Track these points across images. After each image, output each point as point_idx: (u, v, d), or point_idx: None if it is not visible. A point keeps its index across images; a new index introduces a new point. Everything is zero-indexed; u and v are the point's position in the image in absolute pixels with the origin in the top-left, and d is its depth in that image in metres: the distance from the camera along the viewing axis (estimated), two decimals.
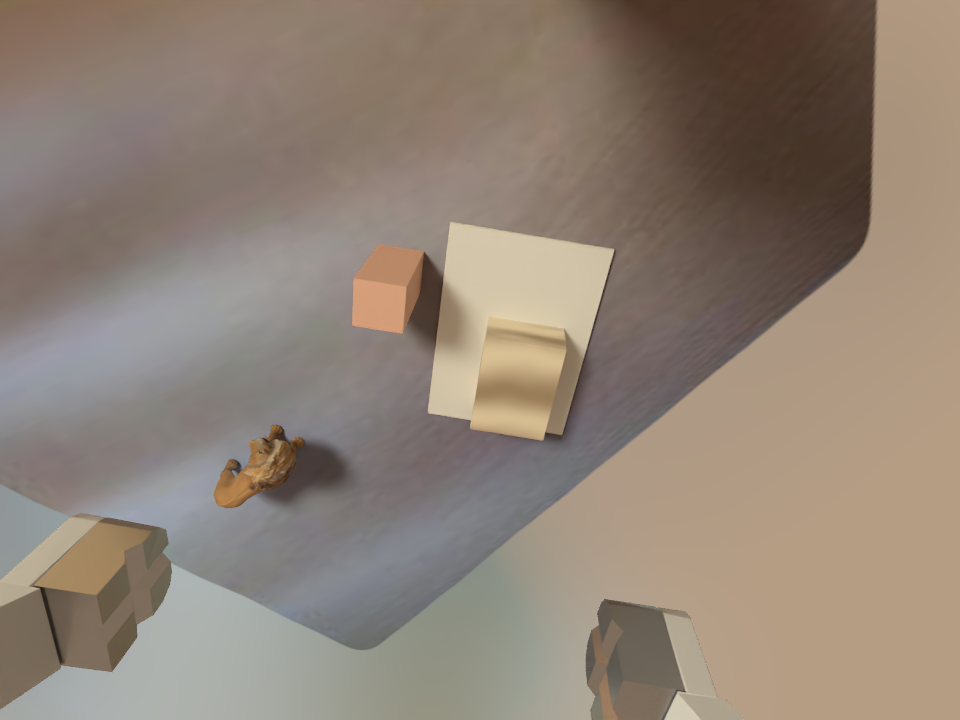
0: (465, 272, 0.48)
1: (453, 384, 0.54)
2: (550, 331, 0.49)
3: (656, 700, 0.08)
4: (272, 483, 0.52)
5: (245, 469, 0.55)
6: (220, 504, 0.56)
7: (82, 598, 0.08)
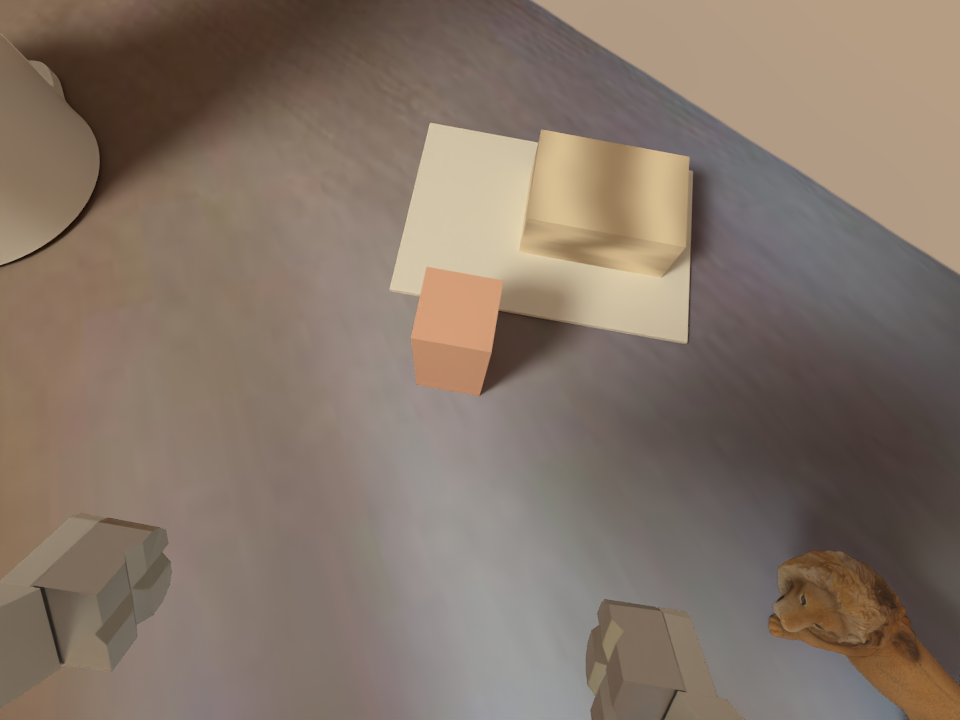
0: None
1: (630, 302, 0.37)
2: (531, 174, 0.38)
3: (656, 700, 0.08)
4: (875, 577, 0.24)
5: (873, 673, 0.26)
6: None
7: (82, 599, 0.08)
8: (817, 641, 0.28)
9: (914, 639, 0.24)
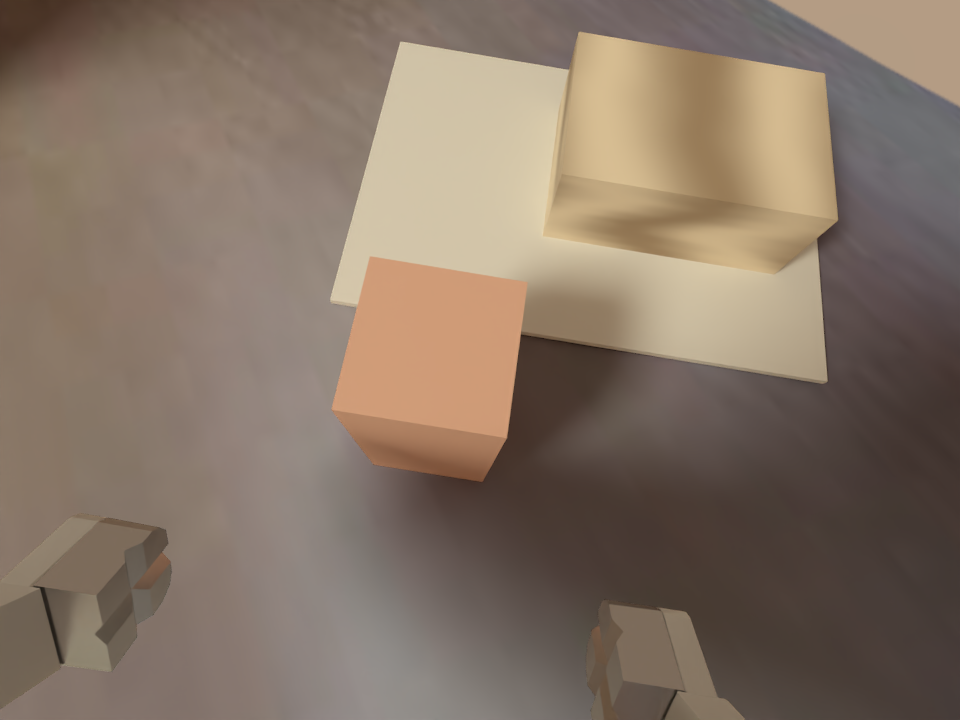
0: None
1: (728, 315, 0.22)
2: (560, 114, 0.24)
3: (656, 700, 0.08)
4: None
5: None
6: None
7: (82, 599, 0.08)
8: None
9: None
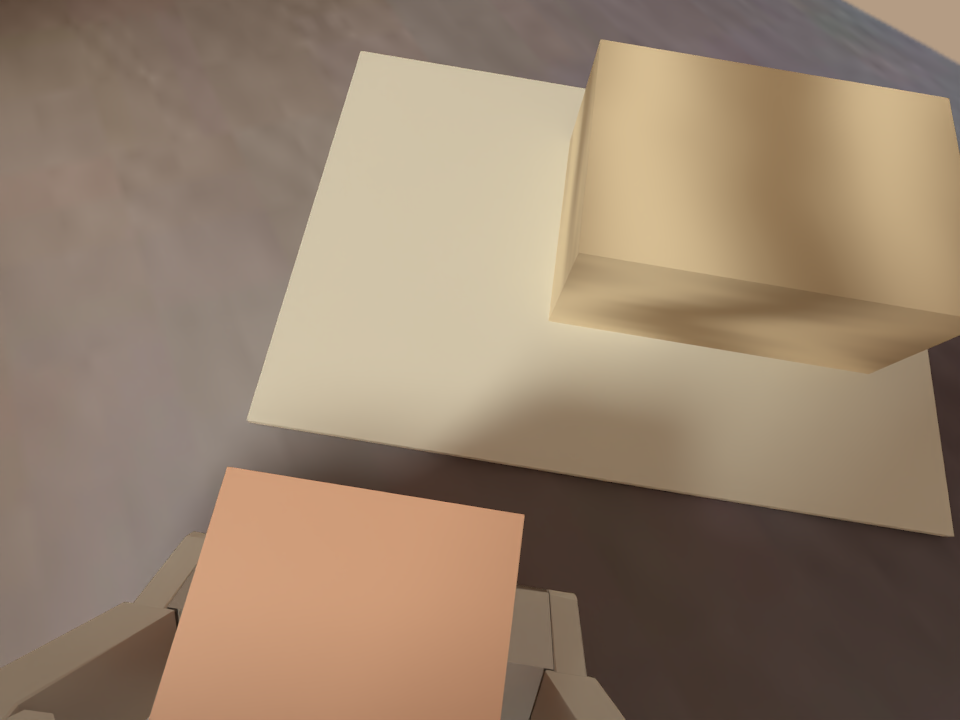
0: (408, 381, 0.16)
1: (809, 436, 0.16)
2: (572, 150, 0.18)
3: (527, 679, 0.08)
4: None
5: None
6: None
7: None
8: None
9: None
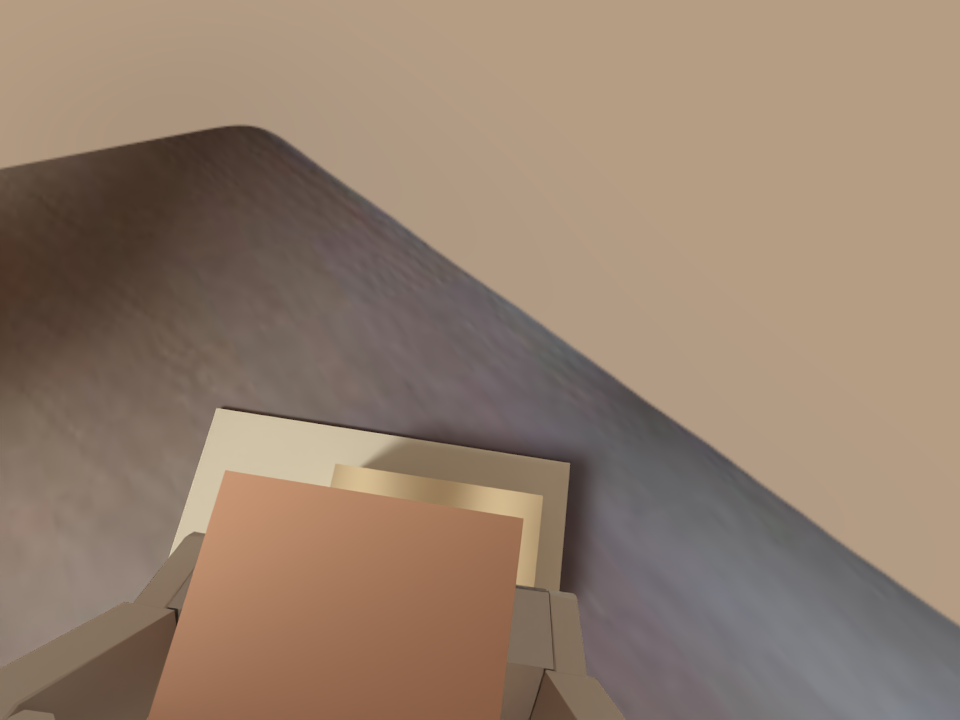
0: None
1: None
2: None
3: (527, 679, 0.08)
4: None
5: None
6: None
7: None
8: None
9: None
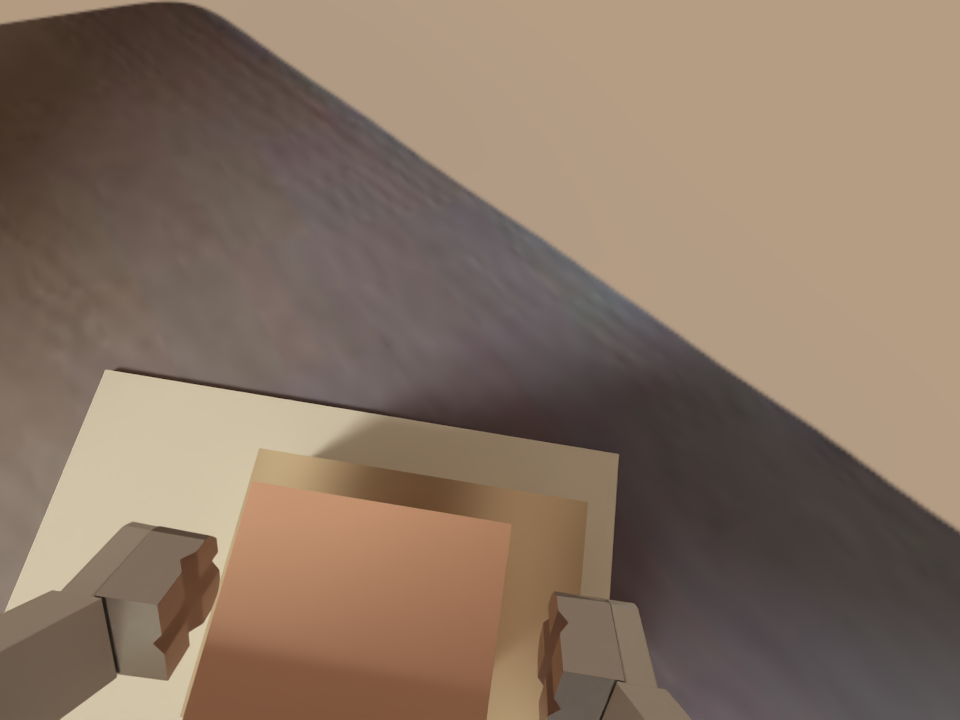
0: None
1: None
2: None
3: (597, 690, 0.08)
4: None
5: None
6: None
7: (143, 609, 0.08)
8: None
9: None
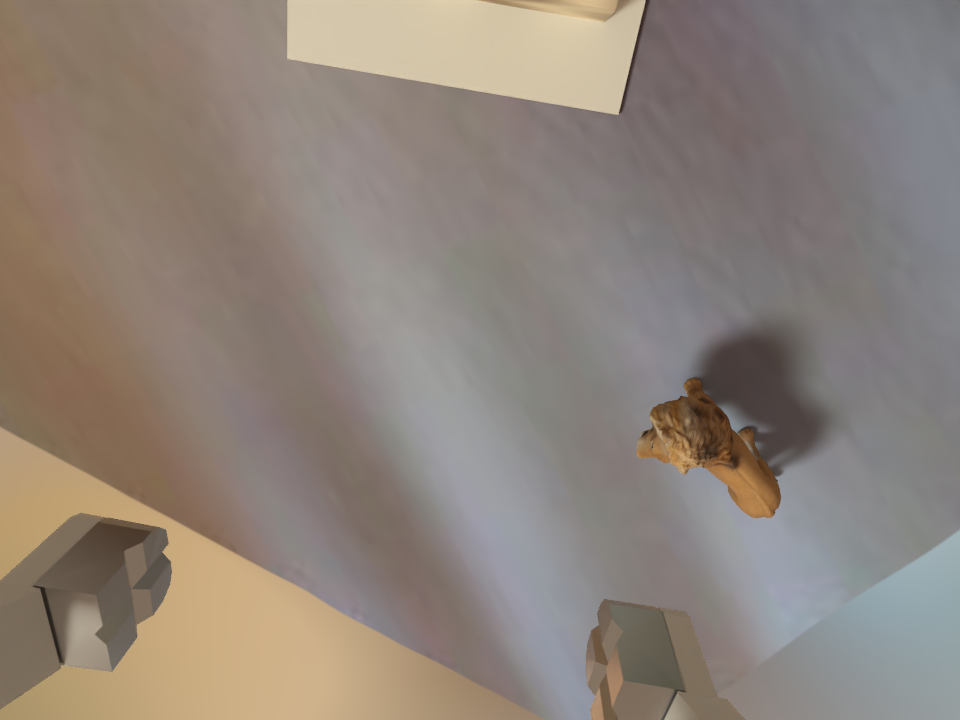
0: (358, 34, 0.32)
1: (560, 62, 0.32)
2: None
3: (656, 700, 0.08)
4: (705, 439, 0.32)
5: (706, 467, 0.37)
6: (767, 513, 0.36)
7: (82, 598, 0.08)
8: None
9: (731, 464, 0.34)
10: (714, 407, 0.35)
